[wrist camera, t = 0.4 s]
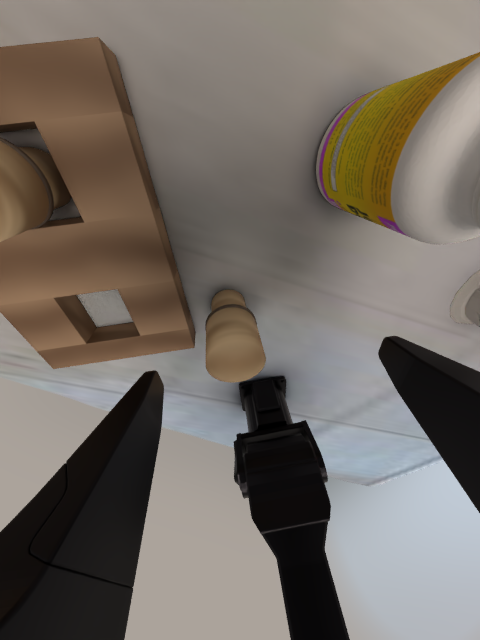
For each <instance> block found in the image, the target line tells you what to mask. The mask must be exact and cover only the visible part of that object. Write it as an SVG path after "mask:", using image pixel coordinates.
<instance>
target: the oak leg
mask: <svg viewBox="0 0 480 640" xmlns="http://www.w3.org/2000/svg"><path fill="white" fill-rule="evenodd" d="M211 309H212V312H211V313H210V315H209V316H208V318H207V320H206V369H207V371H208V372H209V374H210V375H211V376H212V377H214V378H215V379H218V380H220V381H224V382H241V381H245V380H248V379H250V378H252V377H254V376H256V375H257V374H258V373H259V372H260V371H261V370H262V369H263V367H264V365H265V362H266V357H265V353H264V350H263V346H262V342H261V339H260V335H259V332H258V328H257V323H256V319H255V316H254V314H253V313H252V312H251V311H250V310H249V309H248V308H246V305H245V301H244V298H243V296H242V295H241V294H240V293H239V292H237V291H235V290H229V289H228V290H223V291H220V292H218V293H217V294H216V295H215V296H214V297H213V299H212V303H211Z"/></svg>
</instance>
